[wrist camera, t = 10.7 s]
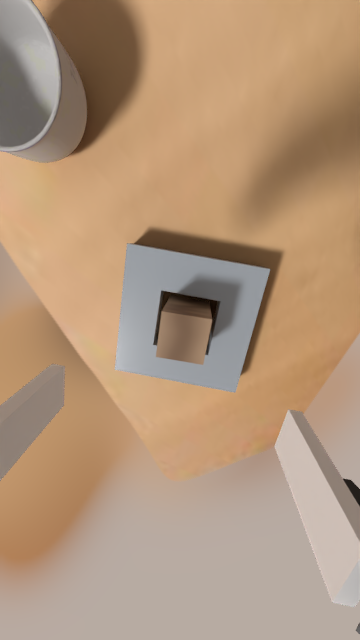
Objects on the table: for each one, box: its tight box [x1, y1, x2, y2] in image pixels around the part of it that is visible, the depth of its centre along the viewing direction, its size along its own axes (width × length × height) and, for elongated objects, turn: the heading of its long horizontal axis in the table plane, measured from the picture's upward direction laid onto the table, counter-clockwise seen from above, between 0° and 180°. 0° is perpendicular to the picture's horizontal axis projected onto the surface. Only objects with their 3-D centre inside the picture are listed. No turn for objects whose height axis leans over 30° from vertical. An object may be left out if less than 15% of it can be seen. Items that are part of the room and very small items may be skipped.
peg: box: [156, 295, 212, 365], centre depth 28 cm, size 5×5×8 cm
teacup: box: [0, 0, 87, 163], centre depth 22 cm, size 14×11×8 cm
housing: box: [115, 243, 270, 392], centre depth 30 cm, size 16×16×3 cm
